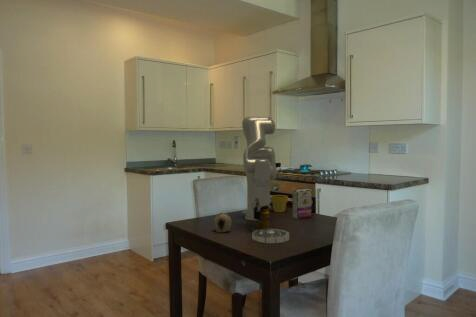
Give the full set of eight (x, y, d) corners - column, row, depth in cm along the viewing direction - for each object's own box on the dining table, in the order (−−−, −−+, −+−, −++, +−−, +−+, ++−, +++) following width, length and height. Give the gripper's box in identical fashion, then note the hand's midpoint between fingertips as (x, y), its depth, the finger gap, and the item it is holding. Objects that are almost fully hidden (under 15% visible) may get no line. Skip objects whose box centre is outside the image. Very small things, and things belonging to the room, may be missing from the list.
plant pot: (277, 213, 233) (277, 197, 233) (268, 210, 242) (268, 195, 242) (290, 212, 238) (290, 196, 238) (281, 209, 247) (281, 194, 247)
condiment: (272, 230, 191) (272, 206, 191) (259, 232, 186) (259, 208, 186) (264, 227, 197) (264, 204, 197) (250, 229, 193) (250, 206, 192)
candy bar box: (306, 215, 226) (306, 188, 226) (312, 217, 222) (312, 189, 221) (291, 217, 221) (292, 190, 220) (297, 219, 217) (297, 190, 216)
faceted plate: (245, 239, 173) (245, 234, 173) (264, 232, 187) (264, 227, 187) (277, 245, 163) (277, 239, 163) (295, 237, 177) (295, 232, 177)
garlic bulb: (215, 235, 190) (210, 215, 192) (230, 230, 193) (225, 212, 195) (219, 233, 182) (214, 213, 184) (235, 229, 185) (230, 209, 186)
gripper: (264, 182, 200) (264, 214, 200) (246, 184, 185) (246, 219, 186) (276, 183, 195) (276, 216, 196) (259, 185, 181) (259, 221, 181)
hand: (262, 217), depth 191 cm, fingers open, 9 cm apart
